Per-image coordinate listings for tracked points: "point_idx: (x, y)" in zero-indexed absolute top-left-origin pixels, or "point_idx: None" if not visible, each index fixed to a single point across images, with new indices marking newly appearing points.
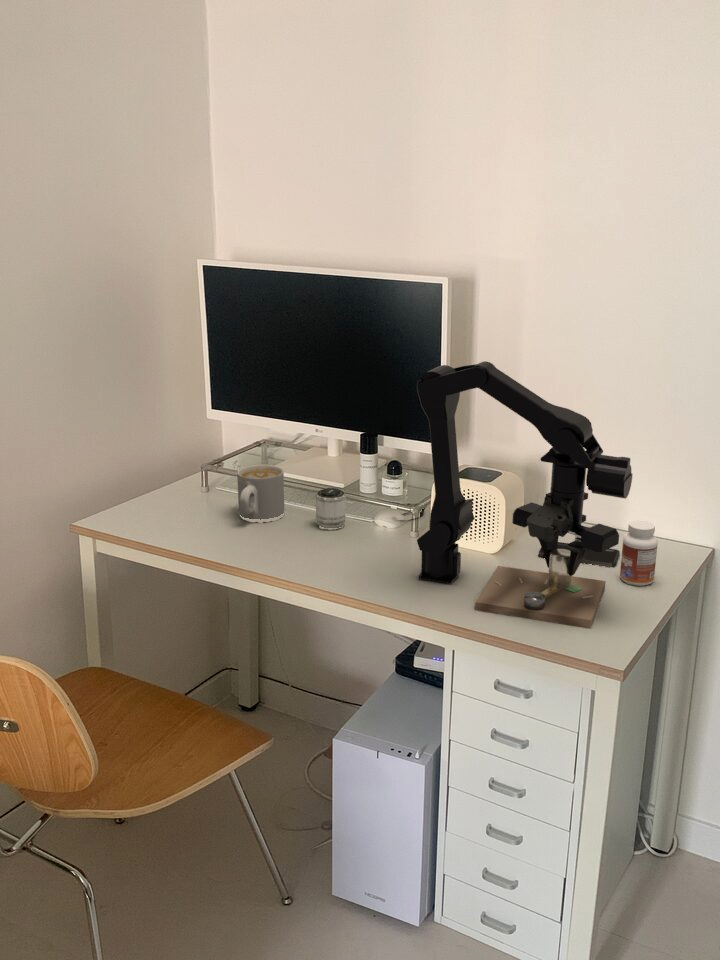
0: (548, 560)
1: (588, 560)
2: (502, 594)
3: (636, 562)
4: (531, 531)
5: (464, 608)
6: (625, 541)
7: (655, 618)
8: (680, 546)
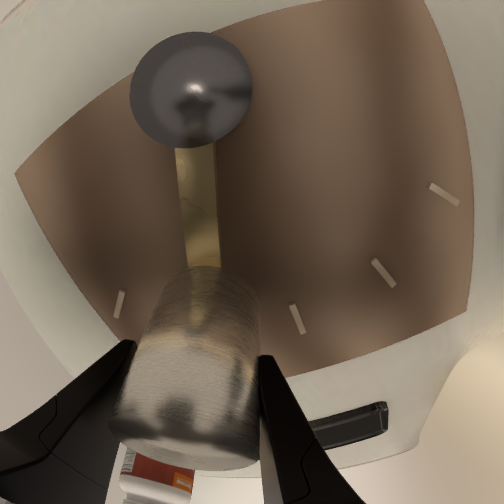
0: (263, 389)
1: None
2: (390, 110)
3: None
4: None
5: (433, 5)
6: (165, 491)
7: (25, 312)
8: (211, 473)
